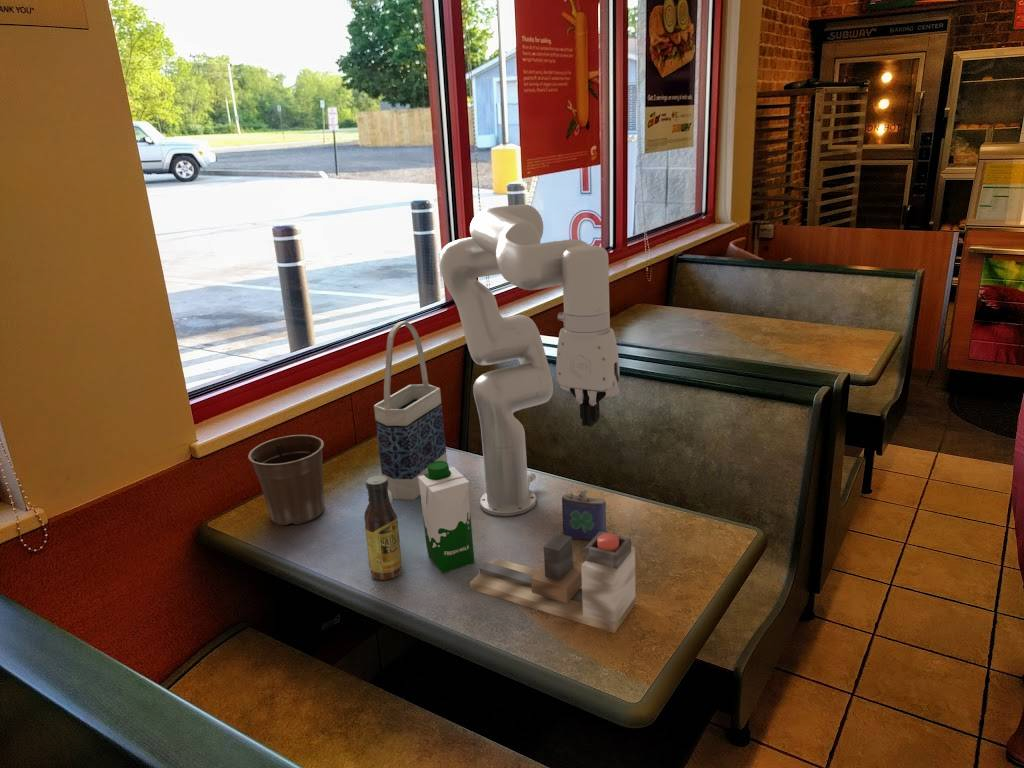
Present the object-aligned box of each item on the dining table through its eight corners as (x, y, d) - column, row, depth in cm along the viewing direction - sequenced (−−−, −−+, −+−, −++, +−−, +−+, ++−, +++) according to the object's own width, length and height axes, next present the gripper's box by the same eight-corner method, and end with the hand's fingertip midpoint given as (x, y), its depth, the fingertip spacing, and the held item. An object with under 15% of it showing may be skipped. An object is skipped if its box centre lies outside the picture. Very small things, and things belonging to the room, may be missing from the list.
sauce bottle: (388, 585, 145) (375, 491, 138) (363, 576, 148) (350, 484, 142) (410, 567, 150) (399, 476, 144) (386, 560, 153) (374, 470, 147)
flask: (608, 537, 156) (606, 490, 153) (604, 544, 154) (602, 497, 150) (565, 531, 160) (562, 485, 156) (560, 538, 157) (558, 491, 154)
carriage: (531, 592, 135) (529, 548, 132) (553, 569, 141) (551, 526, 138) (567, 603, 131) (565, 557, 128) (587, 579, 138) (586, 535, 135)
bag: (422, 464, 195) (405, 312, 182) (451, 469, 191) (436, 314, 178) (380, 496, 180) (358, 332, 167) (411, 502, 176) (391, 335, 163)
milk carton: (462, 543, 157) (454, 455, 151) (481, 564, 150) (473, 472, 143) (422, 556, 154) (412, 466, 147) (439, 578, 146) (429, 484, 139)
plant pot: (245, 520, 173) (232, 455, 168) (300, 490, 185) (289, 429, 180) (294, 537, 164) (281, 469, 159) (348, 505, 177) (338, 441, 171)
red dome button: (594, 556, 128) (593, 541, 127) (603, 546, 131) (602, 531, 130) (613, 561, 126) (613, 546, 125) (622, 550, 129) (622, 536, 128)
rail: (470, 589, 142) (464, 522, 137) (496, 564, 149) (491, 500, 145) (614, 633, 127) (613, 560, 123) (635, 604, 135) (634, 534, 130)
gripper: (536, 323, 128) (542, 425, 134) (619, 331, 120) (621, 438, 126) (557, 313, 134) (561, 410, 140) (637, 319, 126) (638, 422, 132)
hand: (590, 423), depth 133 cm, fingers closed
